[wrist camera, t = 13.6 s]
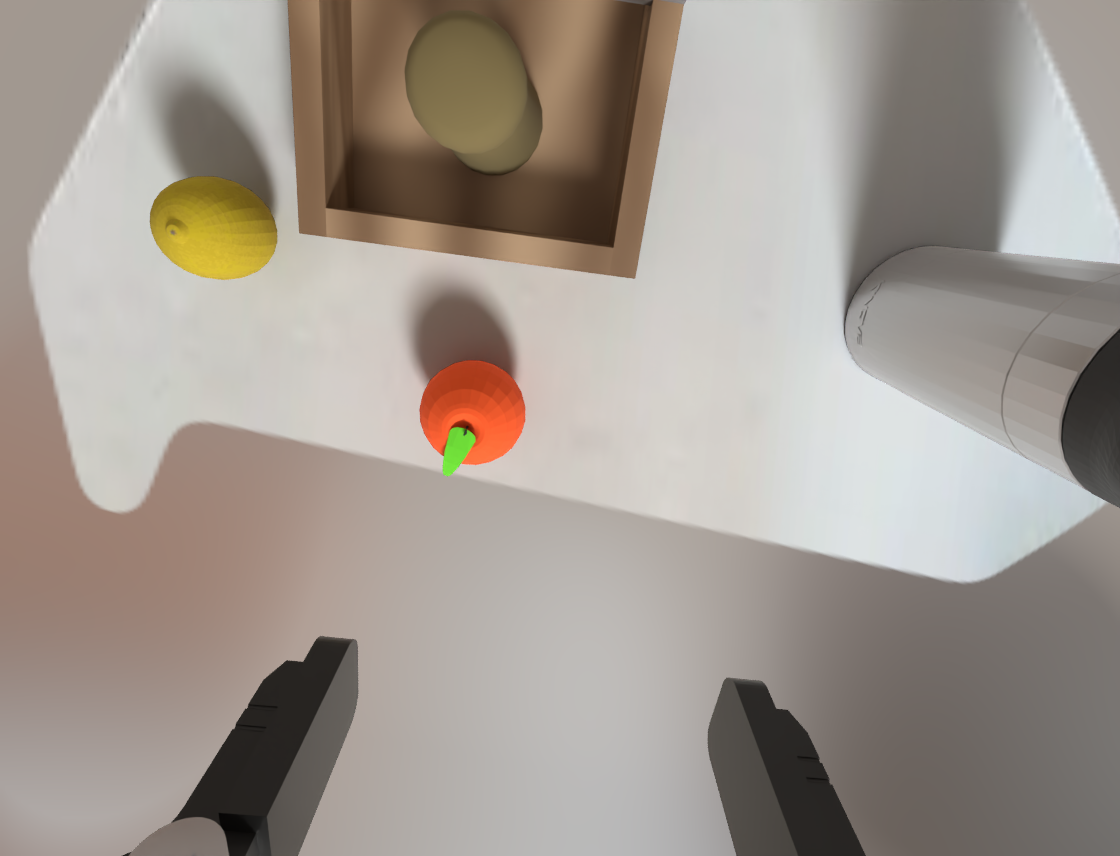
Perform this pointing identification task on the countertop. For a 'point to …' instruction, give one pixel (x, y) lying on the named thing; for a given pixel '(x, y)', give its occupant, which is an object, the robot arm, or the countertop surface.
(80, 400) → the countertop surface
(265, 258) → the lemon
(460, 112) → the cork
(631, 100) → the box
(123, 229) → the countertop surface
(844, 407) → the countertop surface
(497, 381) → the clementine
